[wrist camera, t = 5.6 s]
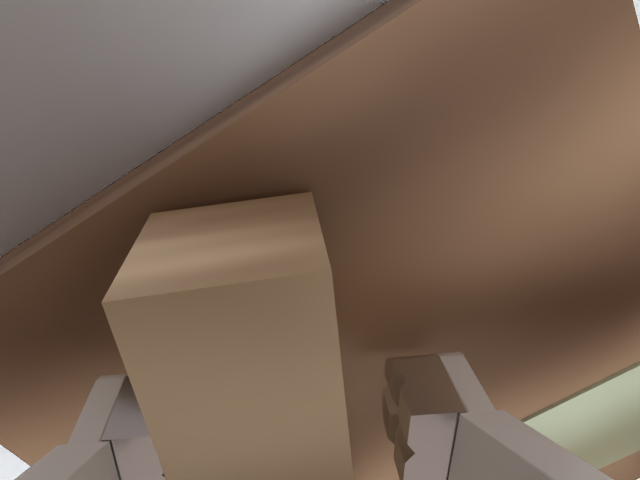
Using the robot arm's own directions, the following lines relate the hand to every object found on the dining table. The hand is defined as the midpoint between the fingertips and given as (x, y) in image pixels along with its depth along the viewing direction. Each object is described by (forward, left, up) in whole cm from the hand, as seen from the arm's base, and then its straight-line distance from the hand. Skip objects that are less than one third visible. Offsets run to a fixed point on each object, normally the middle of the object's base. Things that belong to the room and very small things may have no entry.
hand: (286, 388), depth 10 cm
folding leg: (+3, -2, -1) cm, 3 cm away
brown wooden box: (+3, +1, -4) cm, 5 cm away
